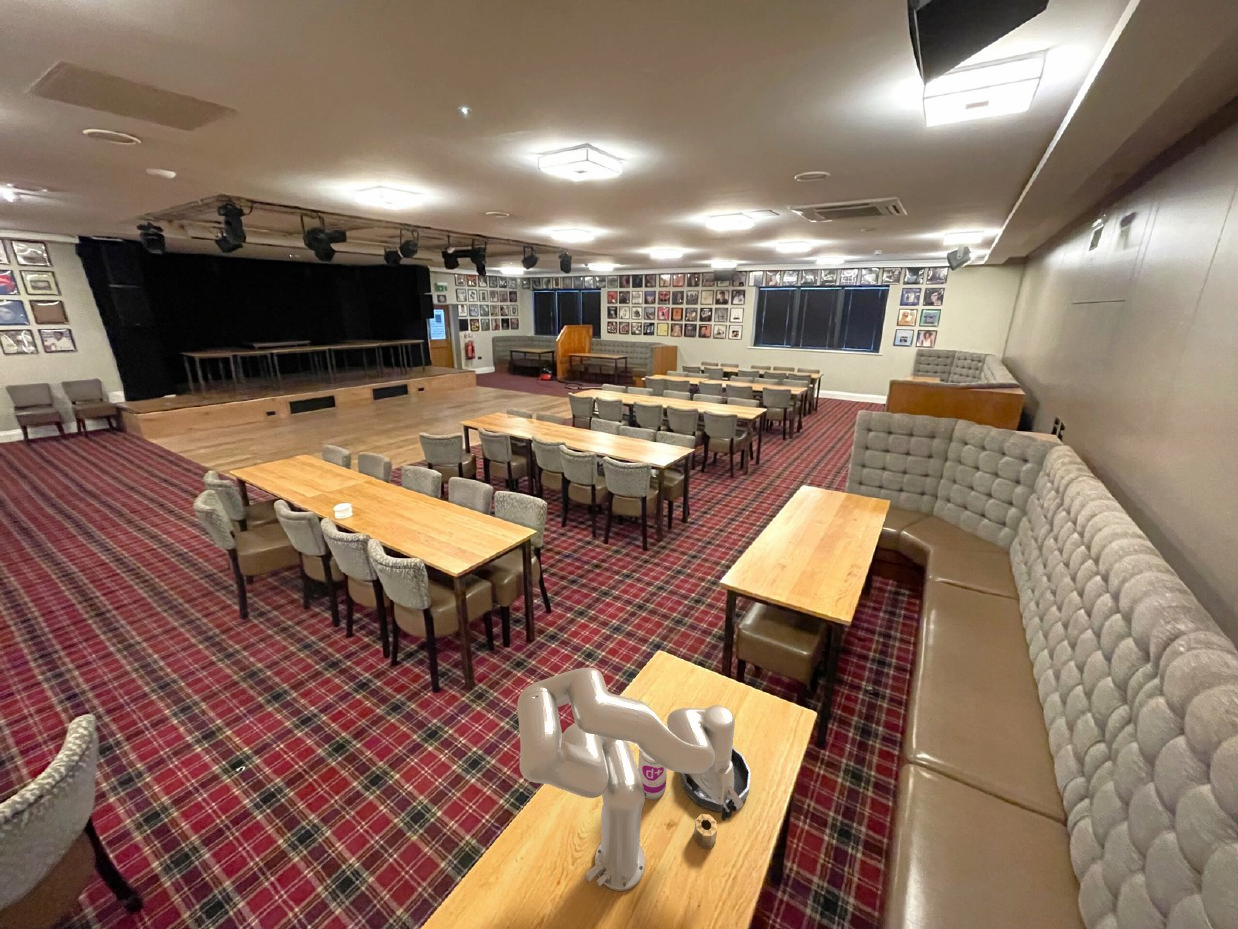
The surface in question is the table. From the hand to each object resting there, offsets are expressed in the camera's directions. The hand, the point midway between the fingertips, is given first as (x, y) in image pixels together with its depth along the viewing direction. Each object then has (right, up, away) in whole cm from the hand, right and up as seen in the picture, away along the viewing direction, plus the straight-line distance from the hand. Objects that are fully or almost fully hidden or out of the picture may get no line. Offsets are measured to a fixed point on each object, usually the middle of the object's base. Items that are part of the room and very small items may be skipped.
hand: (710, 801), depth 126 cm
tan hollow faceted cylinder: (-1, -13, +5) cm, 14 cm away
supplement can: (-14, -8, +17) cm, 24 cm away
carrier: (+5, -7, +20) cm, 22 cm away
